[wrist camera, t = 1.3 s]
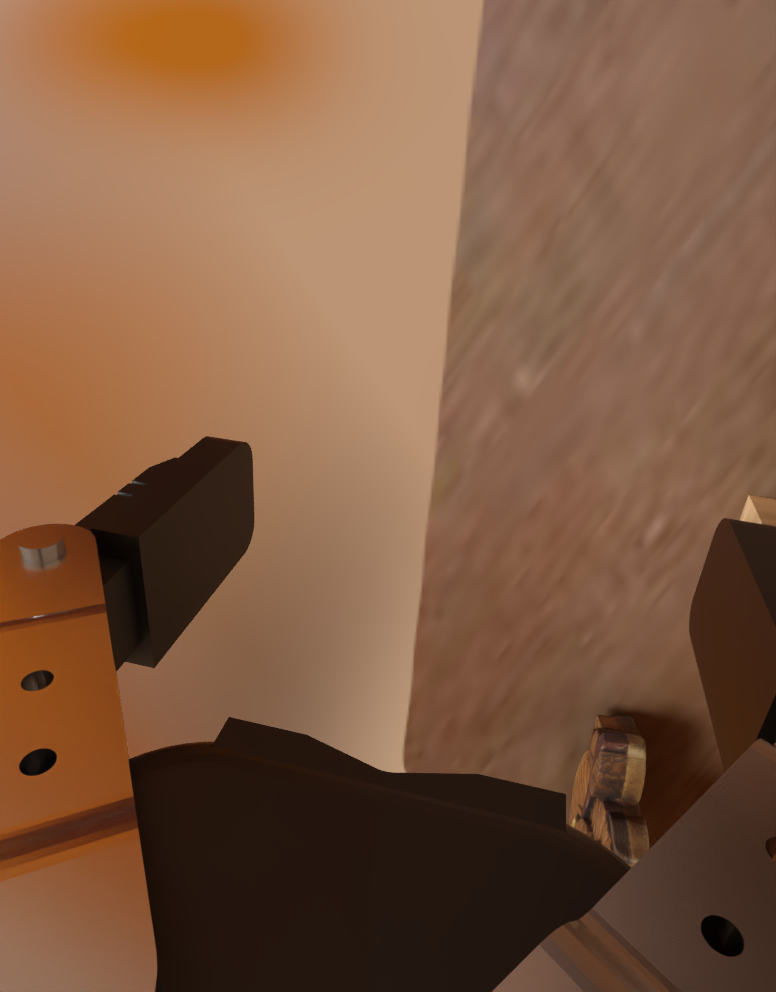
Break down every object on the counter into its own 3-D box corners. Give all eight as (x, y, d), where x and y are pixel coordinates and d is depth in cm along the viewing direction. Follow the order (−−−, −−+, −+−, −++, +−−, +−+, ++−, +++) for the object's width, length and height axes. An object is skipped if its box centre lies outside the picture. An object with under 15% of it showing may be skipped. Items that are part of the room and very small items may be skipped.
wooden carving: (570, 681, 46) (569, 809, 37) (643, 688, 45) (660, 822, 36) (561, 844, 53) (559, 982, 45) (623, 854, 52) (633, 997, 44)
